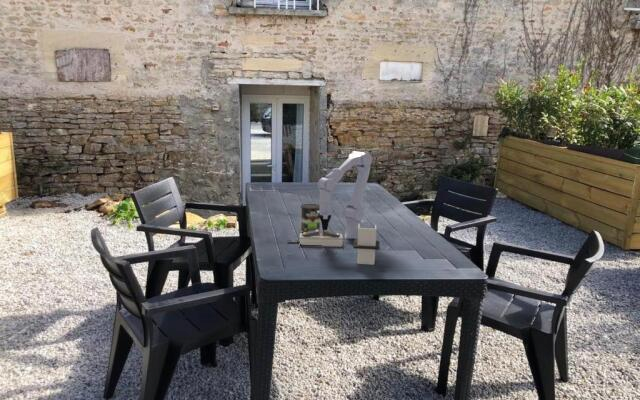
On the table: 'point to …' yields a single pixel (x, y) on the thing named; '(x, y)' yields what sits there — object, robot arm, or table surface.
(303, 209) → the coffee can
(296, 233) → the table surface
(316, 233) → the rocker
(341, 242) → the rocker switch box
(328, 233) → the rocker
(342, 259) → the table surface
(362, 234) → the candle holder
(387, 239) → the table surface
